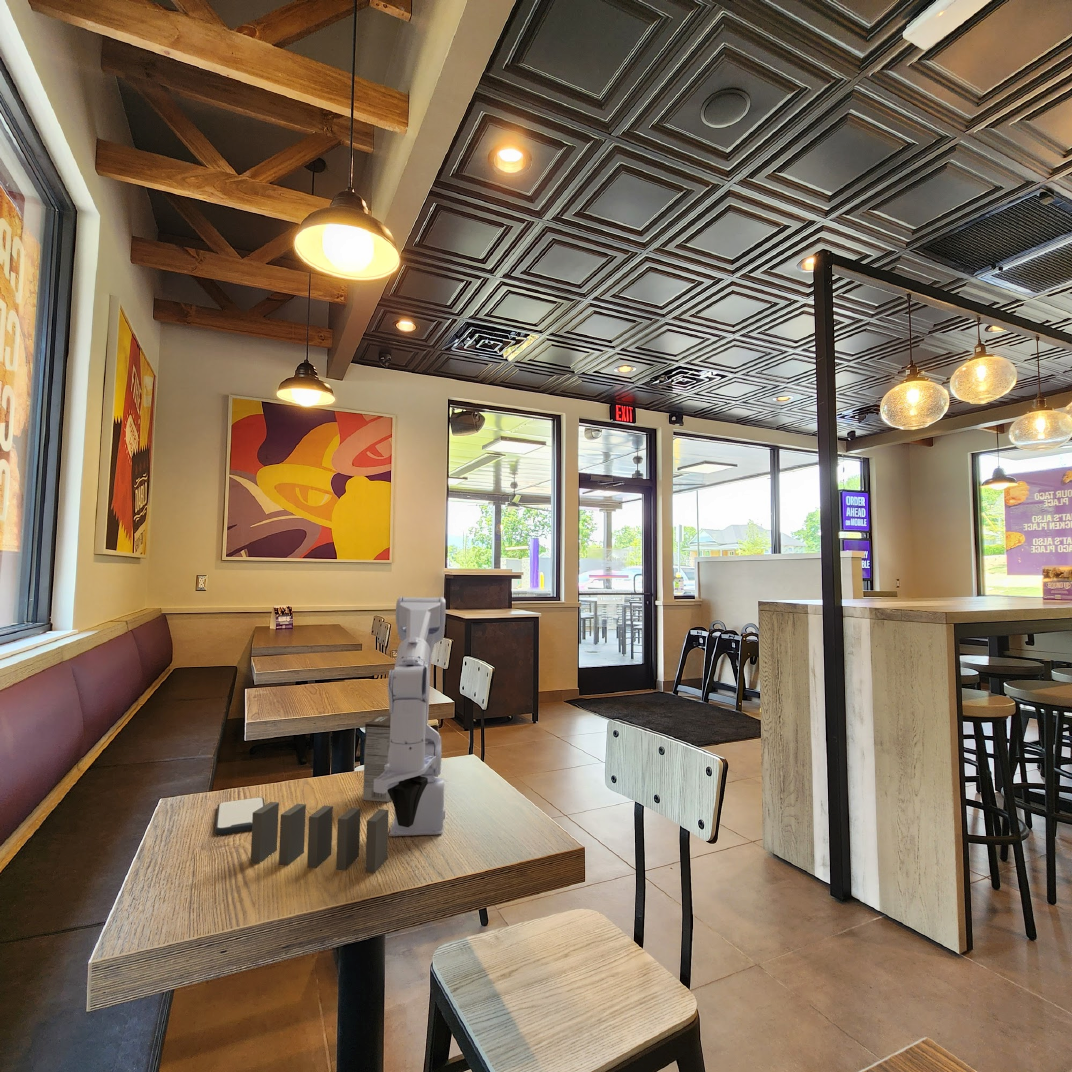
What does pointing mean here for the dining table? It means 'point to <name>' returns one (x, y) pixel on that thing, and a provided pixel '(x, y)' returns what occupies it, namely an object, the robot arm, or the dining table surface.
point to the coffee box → (376, 755)
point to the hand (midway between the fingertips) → (405, 825)
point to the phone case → (236, 815)
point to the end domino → (264, 832)
